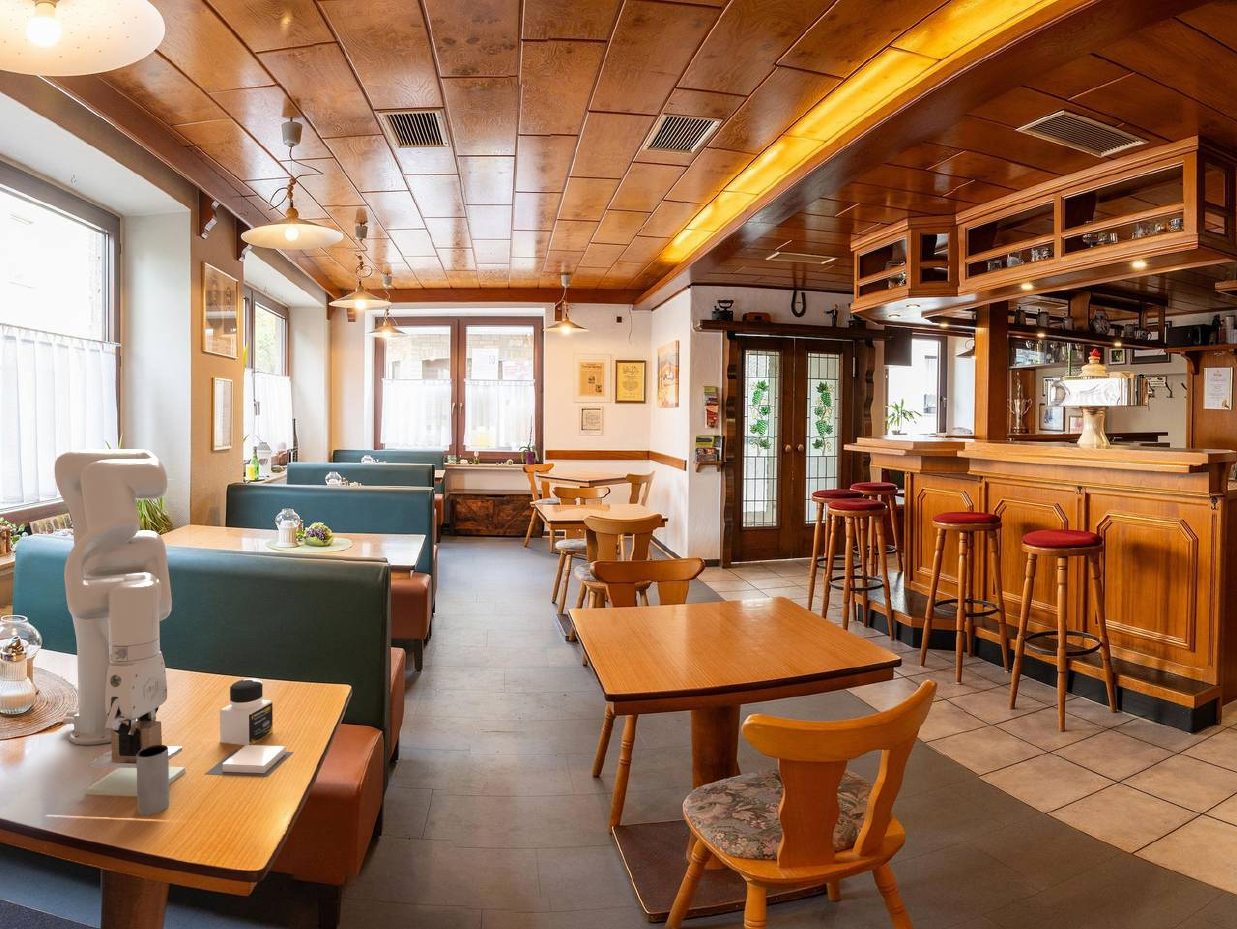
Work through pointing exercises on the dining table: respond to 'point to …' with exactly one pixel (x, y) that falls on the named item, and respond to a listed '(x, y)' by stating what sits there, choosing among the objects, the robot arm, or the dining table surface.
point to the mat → (219, 771)
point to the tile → (254, 759)
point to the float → (146, 737)
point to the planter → (152, 779)
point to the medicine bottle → (246, 714)
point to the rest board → (125, 782)
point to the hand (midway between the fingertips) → (136, 749)
